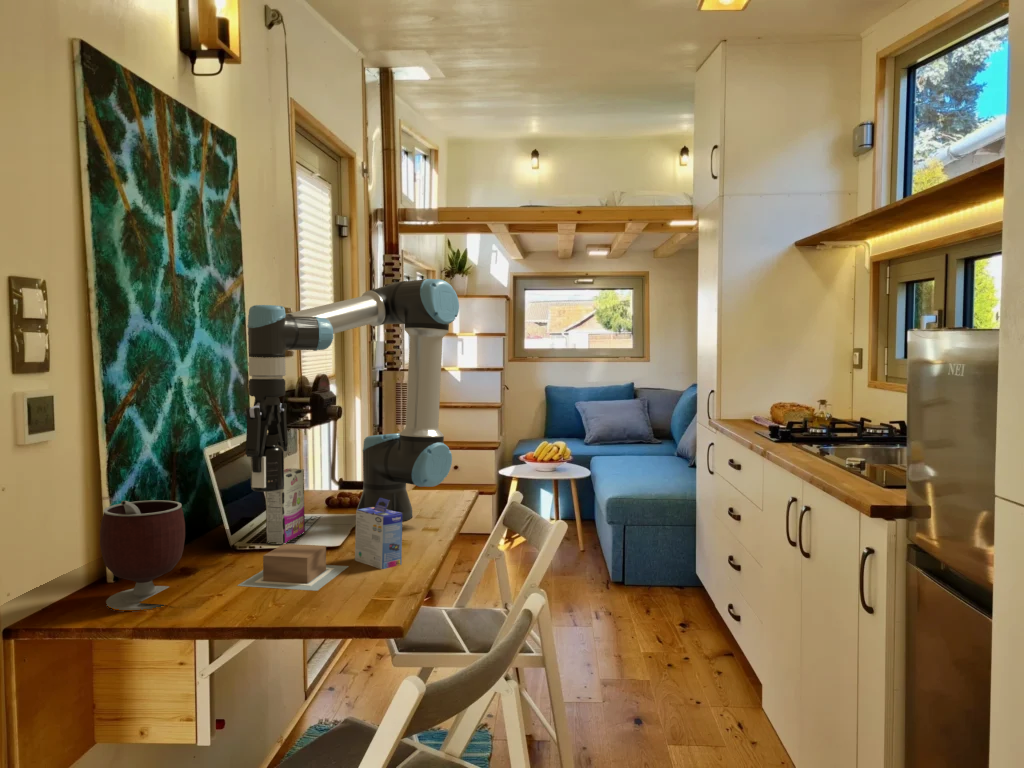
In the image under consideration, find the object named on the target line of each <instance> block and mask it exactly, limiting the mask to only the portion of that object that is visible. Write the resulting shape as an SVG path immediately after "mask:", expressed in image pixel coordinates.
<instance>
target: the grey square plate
mask: <svg viewBox="0 0 1024 768" xmlns="http://www.w3.org/2000/svg"><path fill="white" fill-rule="evenodd" d="M348 568H349V566H348V565H336V564H335V565H334V564H333V565H332V564H326V571H324V572H323V573H322V574H320V575H319V576H317V577H316V578H315V579H313V580H312V581H310V582H309V583H308V584H303V583H287V582H270V581H263V569H262V570H261V571H259V572H258V573H256V574H254V575H252V576H251V577H249V578H247V579H246V580H244V581H242V582H241V583H239V584H237V585H236V586H237V587H246V588H247V587H248V588H249V587H250V588H263V589H264V588H267V589H282V590H298V591H300V590H301V591H314V592H318V591H319V590H320V589H321V588H323V587H325V585H327V584H328V583H329V582H331V581H332V580H333V579H335V578H336V577H337V576H338V575H340V574H341V573H343V572H344V571H345V570H346V569H348Z"/></svg>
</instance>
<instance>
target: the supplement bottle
mask: <svg viewBox="0 0 1024 768" xmlns="http://www.w3.org/2000/svg"><path fill="white" fill-rule="evenodd" d="M278 442H279V434H278V433H268V432H267V436H266V442H265V448H264V455H263V457H266V488H252V457H250V487H251V490H252V491H254V492H259V493H260V492H261V493H264V492H265V493H266V492H269V491H277V490H281V489H283V487H284V470H285V451H284V450H283V448H282V447H281V446H280V445H278Z"/></svg>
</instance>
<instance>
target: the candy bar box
mask: <svg viewBox="0 0 1024 768" xmlns="http://www.w3.org/2000/svg"><path fill="white" fill-rule="evenodd" d="M304 471H305V469H304V468H292V467H291V468H284V487H283V489H281V490H277V491H269V492H265V517H266V518H265V522H266V523H265V526H266V527H265V528H266V529H265V530H266V531H265V532H266V542H267V541H269V542H277V543H286V542H288V541H289V540H291V539H293V538H295V537H297V536H298V535H300V534H302V533H303V532H305V533H306V530H305V528H306V527H305V526H306V525H305V522H306V521H305V520H306V519H305V479H304V478H305V475H304V474H305V473H304ZM297 538H298V537H297Z"/></svg>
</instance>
